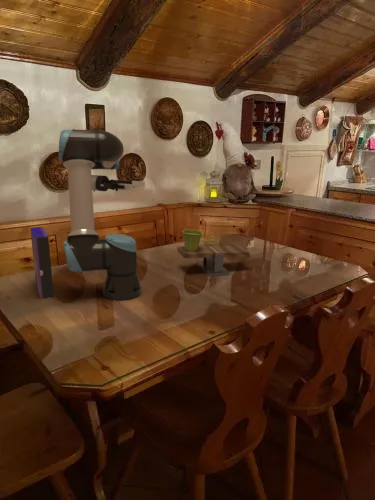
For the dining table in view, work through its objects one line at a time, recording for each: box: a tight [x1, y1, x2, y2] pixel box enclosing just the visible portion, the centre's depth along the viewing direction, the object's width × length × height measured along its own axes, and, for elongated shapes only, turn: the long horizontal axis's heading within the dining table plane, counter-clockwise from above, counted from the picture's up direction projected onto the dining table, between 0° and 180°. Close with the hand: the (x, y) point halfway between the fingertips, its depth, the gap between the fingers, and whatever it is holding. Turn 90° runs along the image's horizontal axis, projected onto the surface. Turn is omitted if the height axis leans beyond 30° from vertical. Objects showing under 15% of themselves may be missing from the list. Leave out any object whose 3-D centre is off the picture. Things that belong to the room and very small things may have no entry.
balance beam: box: [176, 244, 250, 259], centre depth 170 cm, size 32×12×2 cm, turn 107°
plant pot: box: [182, 229, 204, 252], centre depth 165 cm, size 9×9×9 cm
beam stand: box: [196, 244, 230, 278], centre depth 171 cm, size 18×10×10 cm, turn 17°
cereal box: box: [29, 226, 54, 300], centre depth 141 cm, size 17×5×24 cm, turn 27°
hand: (138, 185), depth 169 cm, fingers open, 13 cm apart
